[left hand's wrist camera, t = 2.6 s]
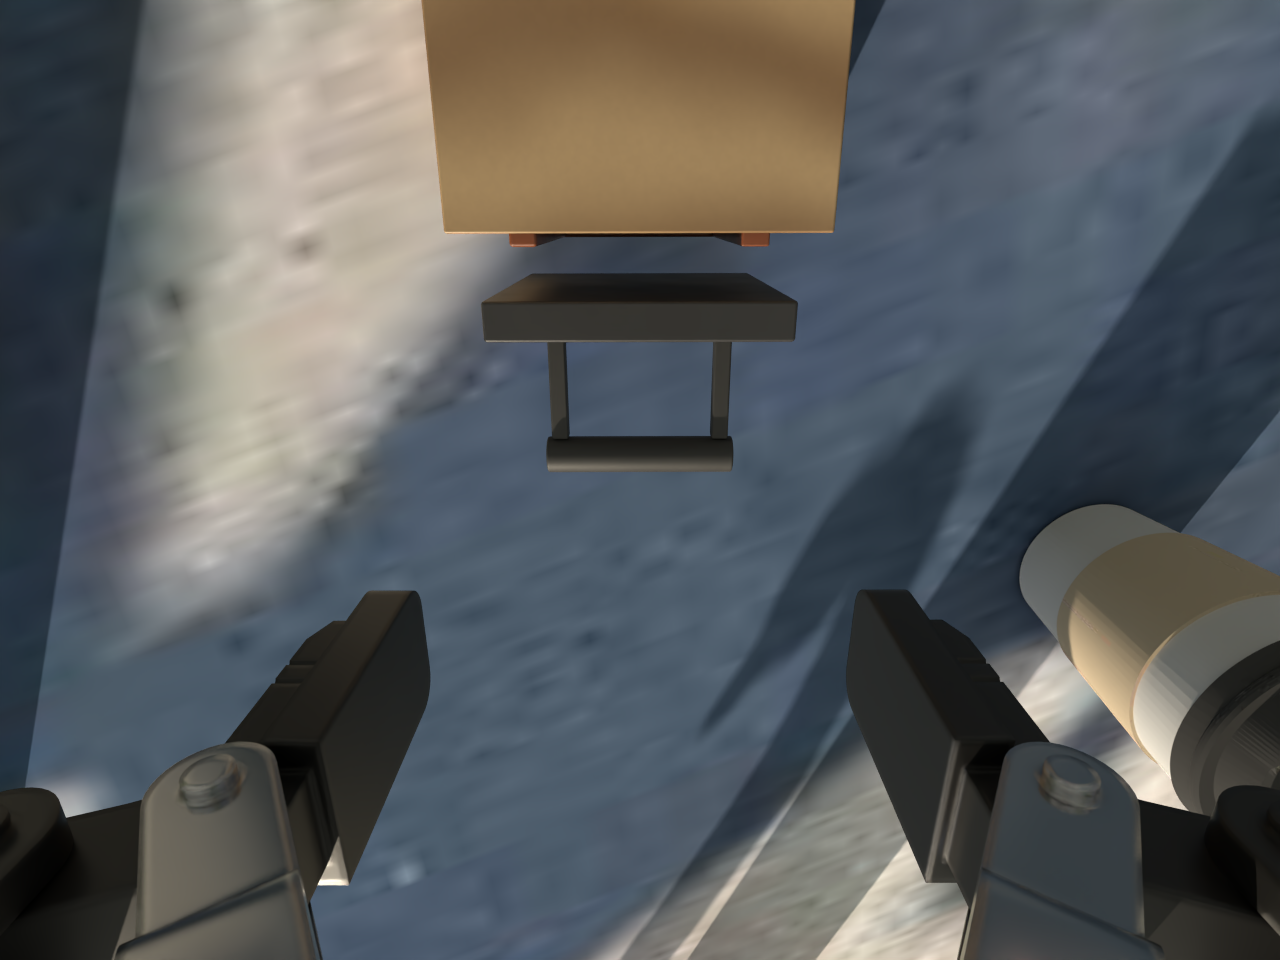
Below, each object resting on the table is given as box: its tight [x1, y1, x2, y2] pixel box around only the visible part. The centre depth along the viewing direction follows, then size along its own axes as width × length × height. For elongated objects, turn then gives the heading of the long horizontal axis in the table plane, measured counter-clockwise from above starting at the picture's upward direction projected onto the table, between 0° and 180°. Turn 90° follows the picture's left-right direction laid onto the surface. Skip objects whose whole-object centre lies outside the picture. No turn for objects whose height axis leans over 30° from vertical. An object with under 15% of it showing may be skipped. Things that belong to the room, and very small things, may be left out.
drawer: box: [481, 233, 798, 472], centre depth 23 cm, size 23×9×10 cm, turn 0°
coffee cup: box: [1019, 504, 1280, 816], centre depth 28 cm, size 9×9×15 cm
